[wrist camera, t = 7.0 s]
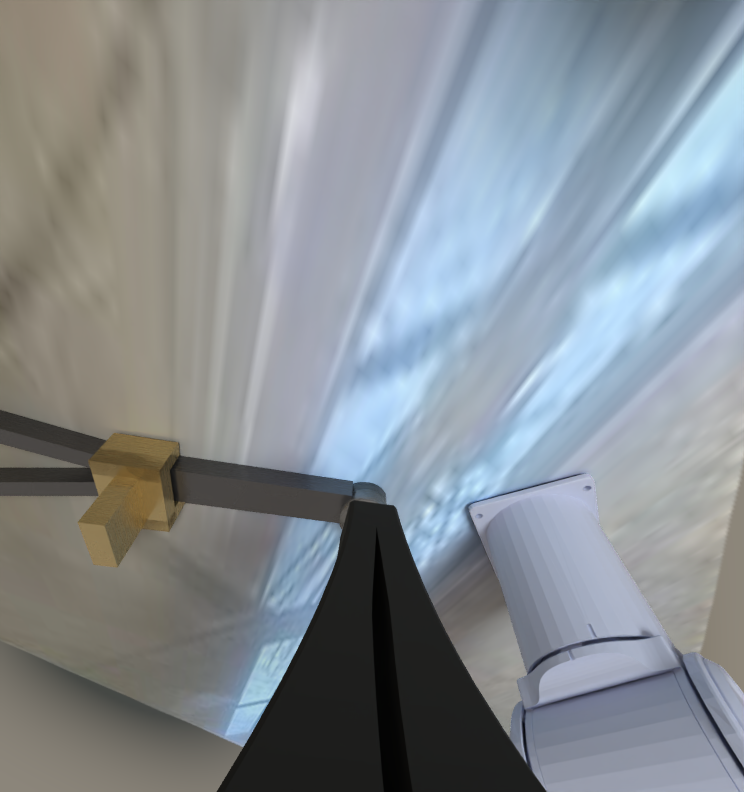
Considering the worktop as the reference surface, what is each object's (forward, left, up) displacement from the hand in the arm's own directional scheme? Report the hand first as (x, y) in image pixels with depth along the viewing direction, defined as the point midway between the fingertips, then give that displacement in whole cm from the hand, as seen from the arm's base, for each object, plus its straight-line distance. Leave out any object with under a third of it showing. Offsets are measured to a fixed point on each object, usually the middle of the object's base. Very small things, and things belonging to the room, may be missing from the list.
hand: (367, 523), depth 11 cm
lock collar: (-1, +15, -9) cm, 18 cm away
